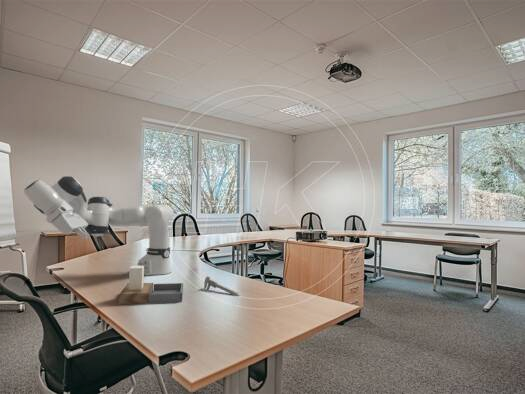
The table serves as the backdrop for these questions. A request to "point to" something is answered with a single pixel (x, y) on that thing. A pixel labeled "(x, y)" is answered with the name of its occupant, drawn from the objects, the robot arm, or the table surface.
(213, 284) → the caliper
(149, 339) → the table surface
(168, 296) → the bin
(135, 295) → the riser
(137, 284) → the block
